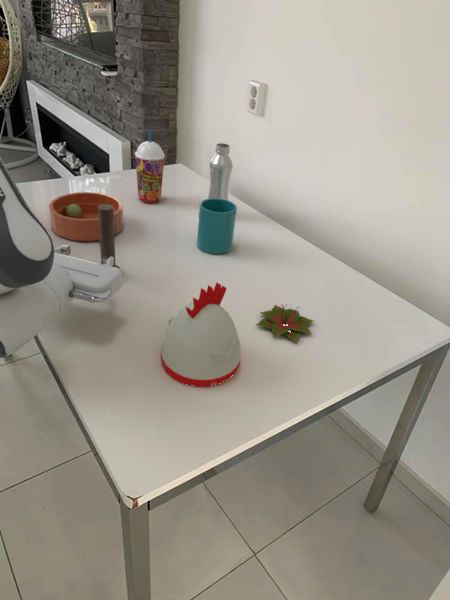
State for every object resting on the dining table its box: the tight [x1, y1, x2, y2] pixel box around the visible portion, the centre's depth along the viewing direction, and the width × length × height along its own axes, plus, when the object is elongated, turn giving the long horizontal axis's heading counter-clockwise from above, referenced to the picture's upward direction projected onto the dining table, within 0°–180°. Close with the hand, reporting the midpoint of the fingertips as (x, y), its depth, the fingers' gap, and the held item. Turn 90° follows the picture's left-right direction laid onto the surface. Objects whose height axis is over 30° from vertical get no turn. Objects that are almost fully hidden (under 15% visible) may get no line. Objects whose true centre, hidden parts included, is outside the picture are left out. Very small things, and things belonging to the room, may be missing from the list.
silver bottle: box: [207, 142, 234, 201], centre depth 126 cm, size 6×7×20 cm
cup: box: [196, 198, 238, 255], centre depth 113 cm, size 9×12×11 cm
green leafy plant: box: [255, 303, 314, 344], centre depth 89 cm, size 12×12×5 cm
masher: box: [98, 204, 121, 270], centre depth 95 cm, size 5×5×16 cm
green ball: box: [66, 204, 82, 219], centre depth 118 cm, size 4×4×4 cm
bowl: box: [48, 191, 124, 243], centre depth 116 cm, size 18×18×6 cm
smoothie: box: [134, 130, 166, 204], centre depth 130 cm, size 8×8×20 cm
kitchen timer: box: [160, 282, 241, 387], centre depth 76 cm, size 14×14×15 cm
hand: (88, 253), depth 88 cm, fingers open, 8 cm apart
